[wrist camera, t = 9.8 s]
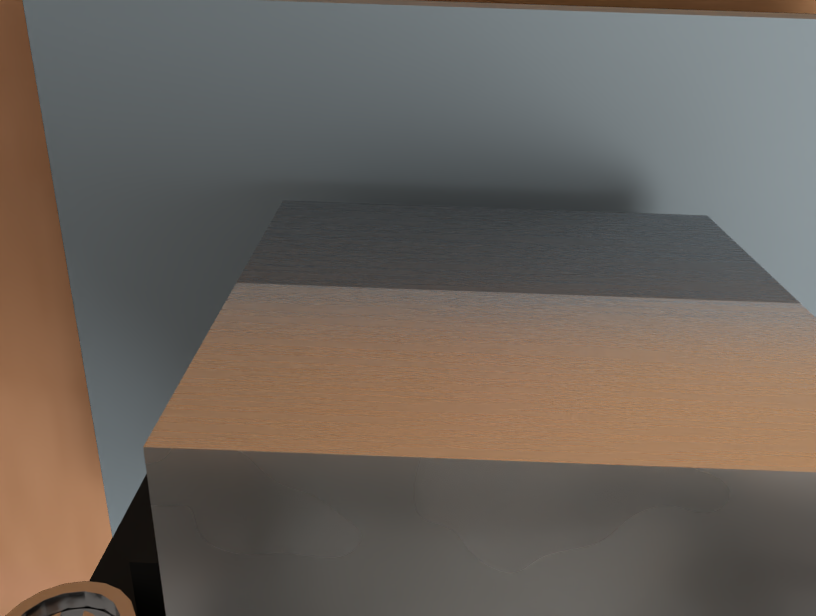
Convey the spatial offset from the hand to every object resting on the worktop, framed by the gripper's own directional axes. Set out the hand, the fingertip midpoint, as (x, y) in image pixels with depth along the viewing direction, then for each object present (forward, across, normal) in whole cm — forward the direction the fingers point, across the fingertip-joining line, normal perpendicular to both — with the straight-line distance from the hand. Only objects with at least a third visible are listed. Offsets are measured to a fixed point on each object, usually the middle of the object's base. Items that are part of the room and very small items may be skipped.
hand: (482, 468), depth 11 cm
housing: (+1, 0, 0) cm, 1 cm away
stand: (+6, 0, 0) cm, 6 cm away
